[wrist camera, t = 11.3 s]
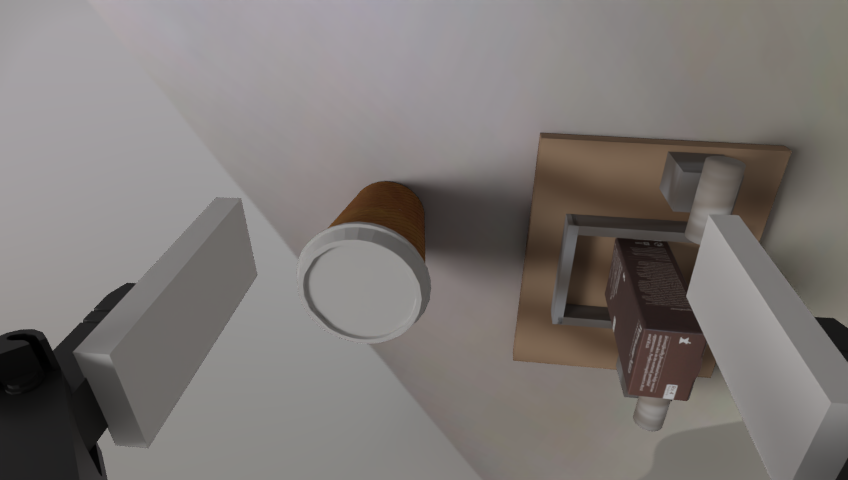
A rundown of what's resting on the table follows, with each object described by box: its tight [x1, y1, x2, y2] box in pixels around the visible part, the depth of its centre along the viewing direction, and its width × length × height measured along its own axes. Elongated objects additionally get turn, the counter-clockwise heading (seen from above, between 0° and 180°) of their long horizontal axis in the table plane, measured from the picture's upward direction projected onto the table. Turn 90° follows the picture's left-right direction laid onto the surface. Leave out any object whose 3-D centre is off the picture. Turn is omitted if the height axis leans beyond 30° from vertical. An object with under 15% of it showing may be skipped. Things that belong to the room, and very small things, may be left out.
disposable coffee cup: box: [296, 181, 431, 344], centre depth 44 cm, size 10×10×12 cm
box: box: [605, 238, 707, 401], centre depth 42 cm, size 6×4×12 cm
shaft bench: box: [513, 133, 792, 431], centre depth 45 cm, size 24×18×8 cm
